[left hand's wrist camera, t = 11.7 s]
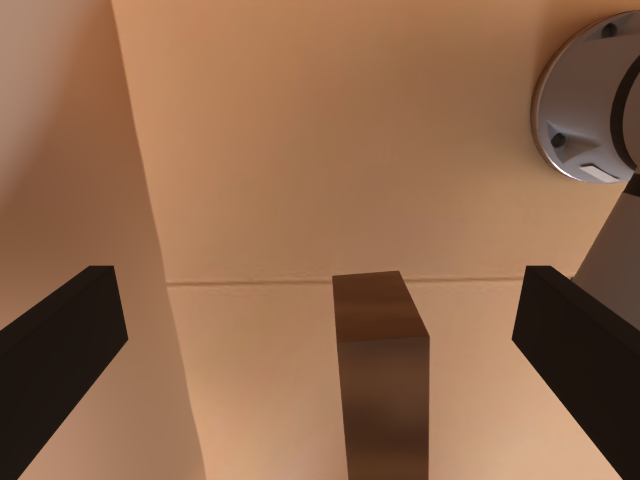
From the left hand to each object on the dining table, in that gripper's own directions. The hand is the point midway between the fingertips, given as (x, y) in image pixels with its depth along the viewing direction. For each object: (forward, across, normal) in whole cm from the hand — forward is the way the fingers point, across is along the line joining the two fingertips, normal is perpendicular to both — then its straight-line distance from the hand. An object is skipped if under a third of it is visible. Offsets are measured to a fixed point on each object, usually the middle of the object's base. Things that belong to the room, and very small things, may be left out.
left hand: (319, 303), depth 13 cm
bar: (+17, +5, -19) cm, 26 cm away
